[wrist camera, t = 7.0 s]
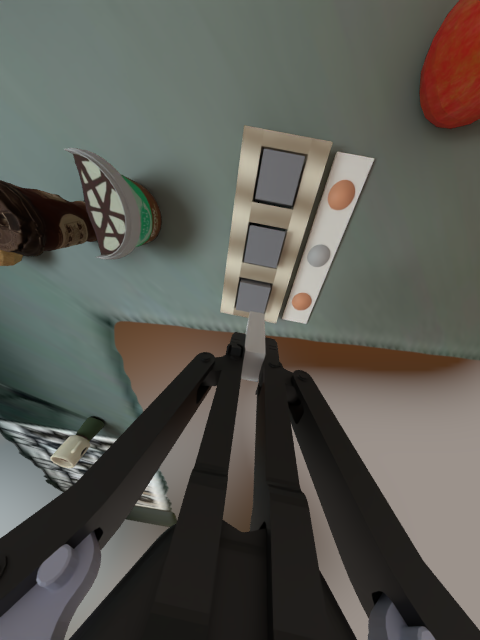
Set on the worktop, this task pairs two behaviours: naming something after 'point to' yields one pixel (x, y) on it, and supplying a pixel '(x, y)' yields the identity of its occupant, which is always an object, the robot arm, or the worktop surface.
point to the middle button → (264, 246)
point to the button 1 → (252, 295)
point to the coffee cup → (40, 221)
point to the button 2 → (278, 177)
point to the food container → (116, 206)
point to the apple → (453, 69)
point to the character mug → (77, 444)
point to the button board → (270, 214)
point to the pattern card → (326, 232)
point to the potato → (9, 258)
